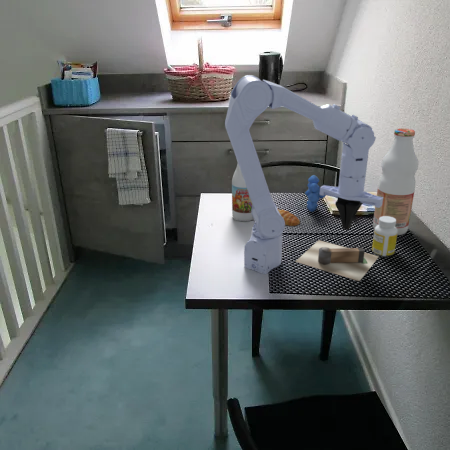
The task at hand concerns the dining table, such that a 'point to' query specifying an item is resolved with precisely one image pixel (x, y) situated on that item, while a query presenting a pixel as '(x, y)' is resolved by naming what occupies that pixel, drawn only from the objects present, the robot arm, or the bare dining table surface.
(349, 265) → the dial board
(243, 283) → the dining table surface
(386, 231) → the supplement bottle
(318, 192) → the grapes
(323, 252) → the pointer lever
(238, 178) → the milk bottle
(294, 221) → the pastry
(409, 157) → the fruit juice
